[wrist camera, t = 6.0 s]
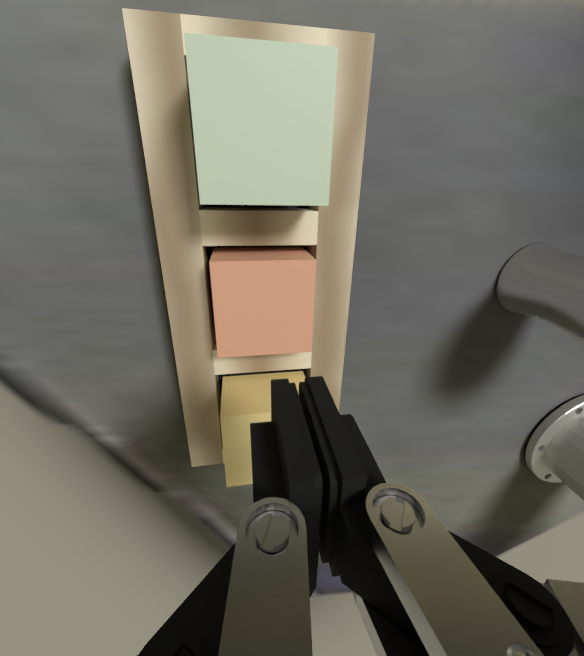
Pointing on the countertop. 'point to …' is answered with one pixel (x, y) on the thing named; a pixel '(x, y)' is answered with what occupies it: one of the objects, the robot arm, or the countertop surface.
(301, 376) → the ochre button
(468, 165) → the countertop surface
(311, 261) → the terracotta button
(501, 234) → the countertop surface
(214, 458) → the button board
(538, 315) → the beer glass
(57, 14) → the countertop surface
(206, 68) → the sage button
